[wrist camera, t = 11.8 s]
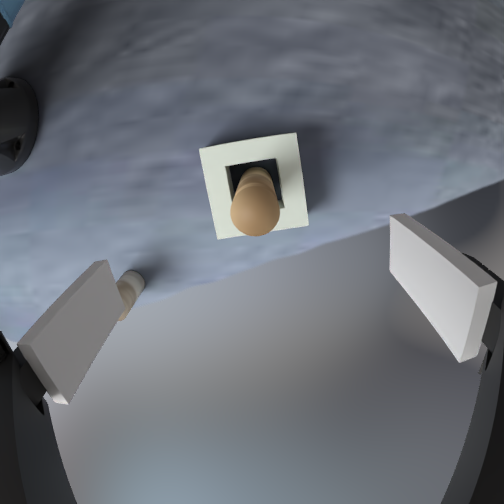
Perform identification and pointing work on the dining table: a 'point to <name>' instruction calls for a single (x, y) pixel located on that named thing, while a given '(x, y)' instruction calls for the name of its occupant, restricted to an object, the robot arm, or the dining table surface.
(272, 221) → the long pin
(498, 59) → the dining table surface
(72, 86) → the dining table surface
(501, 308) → the robot arm
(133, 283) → the short pin
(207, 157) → the hole block
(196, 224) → the dining table surface
